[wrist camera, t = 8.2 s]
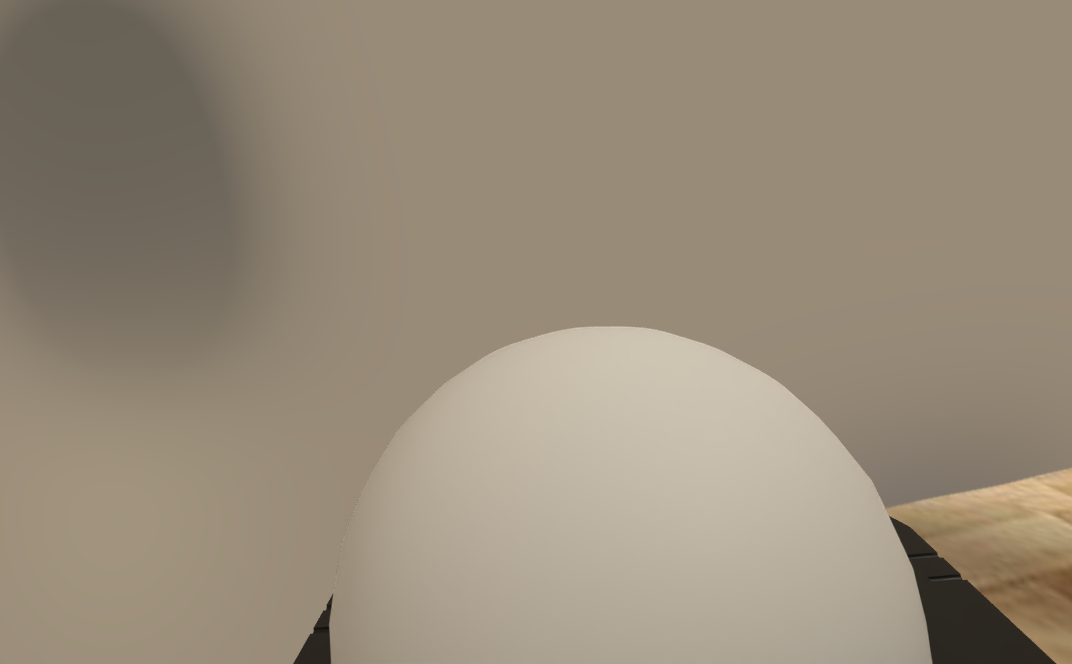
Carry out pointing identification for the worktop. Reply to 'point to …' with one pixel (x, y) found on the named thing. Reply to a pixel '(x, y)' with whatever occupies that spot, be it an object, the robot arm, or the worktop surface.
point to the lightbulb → (621, 520)
